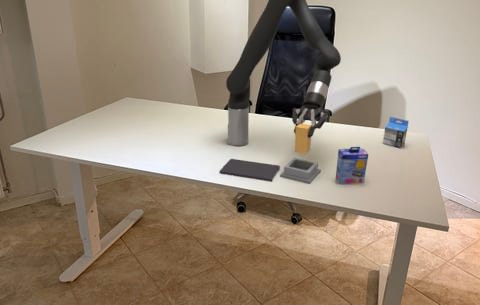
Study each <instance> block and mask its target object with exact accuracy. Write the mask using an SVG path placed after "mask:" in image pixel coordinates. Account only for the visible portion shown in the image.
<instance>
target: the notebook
mask: <svg viewBox="0 0 480 305" xmlns="http://www.w3.org/2000/svg"><path fill="white" fill-rule="evenodd" d="M280 168H281V166H280V165H277V164H269V163H264V162H259V161H257V162H256V161H250V160H242V159H237V158H236V159H235V158H229V160H228V161H227V162H226V163H225V165H224V166H222V168H221V169H220V170H219V174H220V173H221V174H220V175H226V174H227V176H232V175H233V176H234V177H238V178H239V177H240V178H246V179H253V180H259V181H265V182H270V183H271V182H273V180H274V179H275V177H276V175H277V173H278V172H279V171H280ZM233 176H232V177H233Z"/></svg>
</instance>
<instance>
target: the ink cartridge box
mask: <svg viewBox="0 0 480 305" xmlns="http://www.w3.org/2000/svg"><path fill="white" fill-rule="evenodd" d="M337 151H338V152H337V162H336V170H335V179H336V181H337V183H338V184H339V185H348V184H349V185H350V184H356V185H357V184H364V183H365V177H366V170H367V166H368V165H367V164H368V160H369V153H368V151H366V150H365V148H362V147H361V146H350V148H339V149H338V150H337Z"/></svg>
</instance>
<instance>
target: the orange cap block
mask: <svg viewBox="0 0 480 305" xmlns="http://www.w3.org/2000/svg"><path fill="white" fill-rule="evenodd" d="M295 126H296V125H295ZM310 127H311V124H306V123H303V124H301V123H300V124H299V125H298V126H296V134H295V133H294V137H295V139H294V153H297V154H303V155H306V154H308V153H309V152H310V151H311V143H312V137H311V138H309V137H308V132H309V129H310Z"/></svg>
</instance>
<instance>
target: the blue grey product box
mask: <svg viewBox="0 0 480 305" xmlns="http://www.w3.org/2000/svg"><path fill="white" fill-rule="evenodd" d="M408 128H409V120H406V119H401V118H396V117H393V116H390V117H389V121H388V123H387V124H386V125H385V127H384V132H383V139H382V144H383V145H386V146H390V147H393V148H398V149H400V150H401V149H403V148H404V147H405V144H406V139H407V138H406V137H407V132H408Z"/></svg>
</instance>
